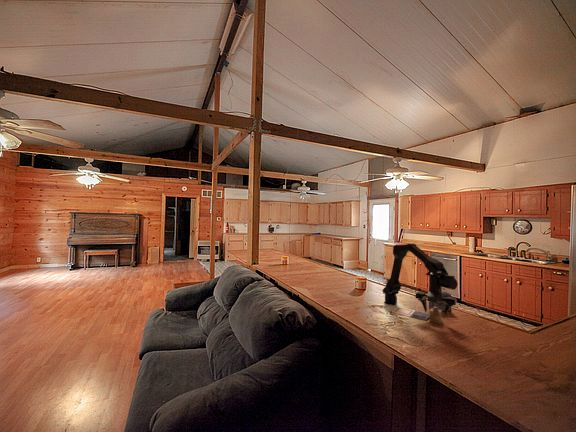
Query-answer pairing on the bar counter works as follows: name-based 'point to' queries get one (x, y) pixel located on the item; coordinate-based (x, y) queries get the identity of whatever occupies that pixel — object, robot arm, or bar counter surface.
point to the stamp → (435, 315)
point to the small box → (440, 303)
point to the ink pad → (420, 315)
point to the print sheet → (403, 311)
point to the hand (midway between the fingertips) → (435, 314)
